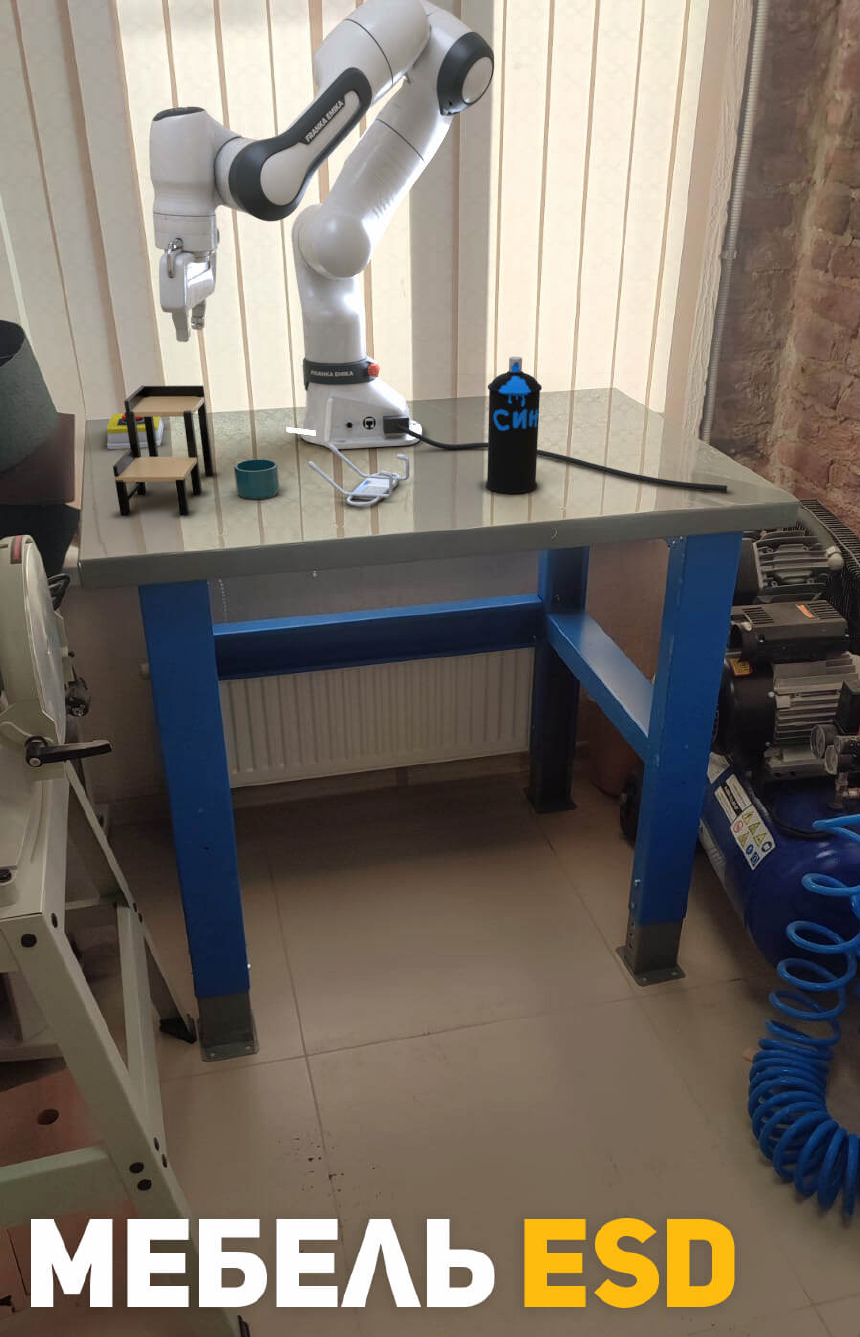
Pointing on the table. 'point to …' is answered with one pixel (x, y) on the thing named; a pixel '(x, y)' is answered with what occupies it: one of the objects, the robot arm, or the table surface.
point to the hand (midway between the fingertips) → (191, 335)
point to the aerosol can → (513, 431)
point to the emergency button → (119, 432)
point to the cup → (257, 478)
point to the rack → (154, 467)
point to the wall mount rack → (367, 482)
